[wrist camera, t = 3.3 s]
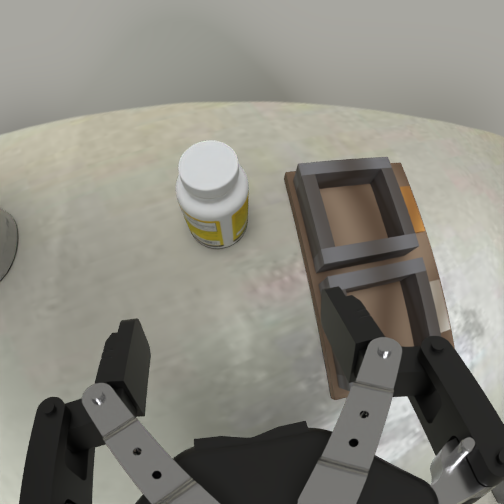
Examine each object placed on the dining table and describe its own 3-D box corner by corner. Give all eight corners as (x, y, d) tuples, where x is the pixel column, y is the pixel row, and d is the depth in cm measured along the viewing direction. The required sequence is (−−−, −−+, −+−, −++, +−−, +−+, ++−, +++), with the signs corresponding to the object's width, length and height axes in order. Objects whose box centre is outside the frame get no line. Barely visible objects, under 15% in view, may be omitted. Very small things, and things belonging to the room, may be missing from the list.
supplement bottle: (235, 188, 31) (234, 123, 21) (255, 238, 29) (263, 185, 20) (181, 206, 30) (160, 146, 21) (199, 258, 29) (179, 213, 19)
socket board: (331, 398, 25) (346, 405, 21) (284, 178, 31) (289, 154, 27) (449, 358, 26) (474, 356, 22) (396, 168, 32) (412, 147, 28)
